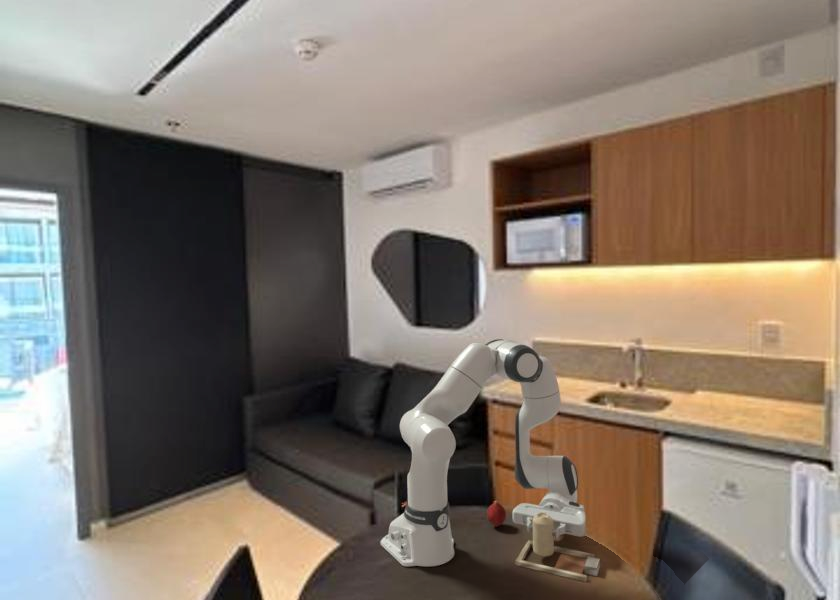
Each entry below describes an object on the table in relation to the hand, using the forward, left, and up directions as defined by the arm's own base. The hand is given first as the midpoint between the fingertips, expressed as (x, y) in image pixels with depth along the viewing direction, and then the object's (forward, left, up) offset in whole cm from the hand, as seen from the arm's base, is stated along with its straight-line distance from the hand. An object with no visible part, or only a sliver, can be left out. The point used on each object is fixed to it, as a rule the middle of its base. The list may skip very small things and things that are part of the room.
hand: (542, 531), depth 137 cm
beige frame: (+3, +2, -8) cm, 9 cm away
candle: (0, +1, -6) cm, 6 cm away
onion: (-21, +7, -8) cm, 24 cm away
